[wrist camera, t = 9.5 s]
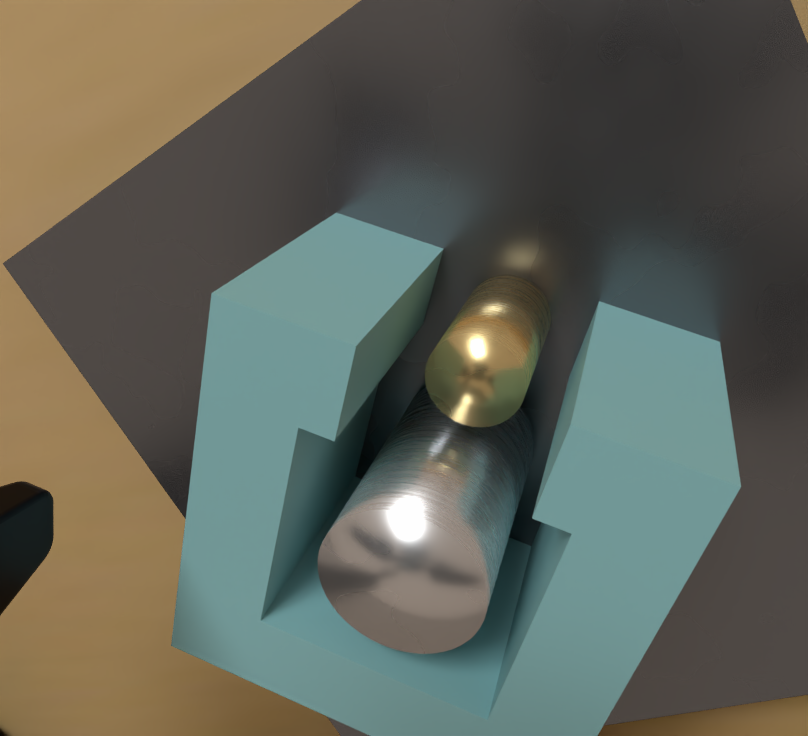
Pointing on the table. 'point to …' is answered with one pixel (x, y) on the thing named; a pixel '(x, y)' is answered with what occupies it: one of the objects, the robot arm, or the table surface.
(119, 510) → the table surface
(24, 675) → the table surface
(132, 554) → the table surface
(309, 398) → the teal u-channel block
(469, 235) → the base plate
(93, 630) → the table surface
